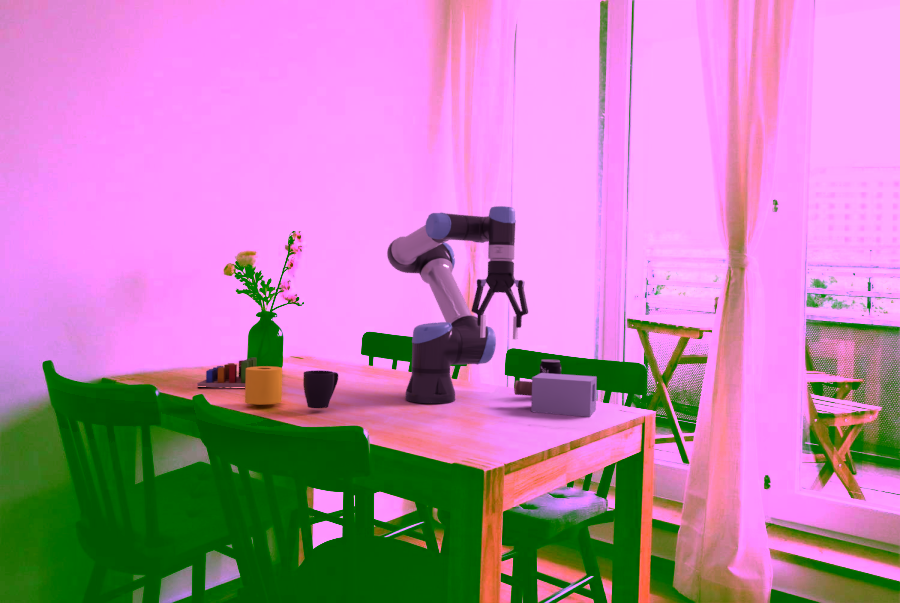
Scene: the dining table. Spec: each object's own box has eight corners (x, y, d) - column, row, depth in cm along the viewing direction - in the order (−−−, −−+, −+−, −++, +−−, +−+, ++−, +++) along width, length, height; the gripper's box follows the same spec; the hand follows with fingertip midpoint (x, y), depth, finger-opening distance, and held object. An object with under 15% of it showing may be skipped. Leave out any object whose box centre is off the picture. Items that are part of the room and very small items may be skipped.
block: (531, 411, 186) (532, 377, 185) (540, 405, 197) (541, 372, 197) (589, 416, 180) (591, 381, 180) (595, 409, 192) (596, 376, 191)
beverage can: (559, 400, 206) (560, 361, 206) (538, 399, 208) (539, 360, 207) (560, 397, 213) (561, 359, 212) (539, 396, 214) (540, 358, 214)
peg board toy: (213, 380, 233) (213, 356, 233) (264, 381, 234) (264, 357, 234) (196, 388, 216) (197, 361, 216) (251, 389, 216) (252, 362, 216)
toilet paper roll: (266, 397, 198) (266, 365, 198) (288, 401, 192) (289, 368, 192) (237, 401, 190) (238, 368, 190) (260, 405, 184) (261, 371, 184)
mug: (348, 404, 189) (348, 370, 189) (319, 410, 179) (320, 374, 179) (325, 401, 194) (326, 368, 194) (296, 407, 183) (297, 372, 183)
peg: (514, 395, 191) (514, 381, 191) (517, 393, 195) (517, 379, 195) (555, 398, 187) (556, 384, 187) (558, 396, 191) (558, 382, 191)
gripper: (461, 259, 195) (459, 337, 195) (535, 260, 187) (532, 340, 188) (469, 260, 202) (467, 335, 202) (540, 261, 194) (538, 339, 195)
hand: (498, 338), depth 195 cm, fingers open, 9 cm apart
